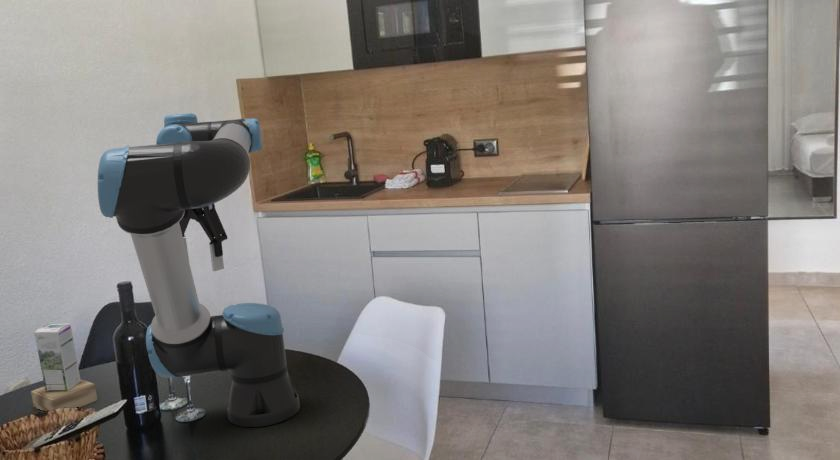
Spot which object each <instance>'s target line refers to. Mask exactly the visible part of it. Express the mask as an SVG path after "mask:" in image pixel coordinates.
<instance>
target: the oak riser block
mask: <svg viewBox="0 0 840 460" xmlns="http://www.w3.org/2000/svg"><path fill="white" fill-rule="evenodd" d="M80 379H81V378H80ZM30 393H31V394H30V395H31V399H32V405H33V408H34V407H36V408H38V409H40V410H44V411H47V410H54V409H58V408H64V407H79V408H82V407H84V406H88V405H89V404H91V403H94V402H97V401H98V396H97V389H96V383H93V382H90V381H87V380H84V379H81V382H80V383H78V384H77V385H76V386H74V387H73V388H72V389H70V390H68V391H45V386H44V385H43V386H40V387H39V388H36V389H34V390H31V391H30ZM36 408H35V409H36ZM38 409H37V410H38ZM40 410H39V411H40Z"/></svg>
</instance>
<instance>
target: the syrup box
mask: <svg viewBox="0 0 840 460" xmlns="http://www.w3.org/2000/svg"><path fill="white" fill-rule="evenodd" d="M34 338H35V343H36V348H37V354H38V358H39V359H38V360H39V365H40V370H41V375H42V380H43V384H44V385H43V387H44V386H45V391H68V390H70V389H72V388H73V387H74V386H76V385H77V384H78V383H80V382H81V375H80V370H79V366H78V359H77V355H76V347H75V341H74V336H73V330H72V325H71V323H52V324H48V323H47V324H45V325H43V326H42V327H39V328H38V329H37V330H34Z"/></svg>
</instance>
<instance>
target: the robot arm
mask: <svg viewBox="0 0 840 460" xmlns="http://www.w3.org/2000/svg"><path fill="white" fill-rule="evenodd" d="M163 123H164V124H163V125H164V127H163V128H162V129H161V130H160V131H159V133H158V134H157V137H156V139H155V141H156V144H149V145H137V146H130V145H126V146H123V147H118V148H111V149H107V150H105V152H103V153H102V155H101V157H100V159H99V163H98V170H97V196H98V205H99V210H100V213H101V214H102V215H103V217H105V218H112V219H113V218H114V217H116V218H115V219H116V222H117V224H118V227H119V228H120V229H121V230H122V231H123V232H125V233H126V234H130V236H131V239H132V242H133V246H134V249H135V253H136V257H137V259H138V263H139V266H140V269H141V272H142V276H143V279H144V282H145V286H146V288H147V293H148V296H149V299H150V302H151V306H152V308H153V313H154V317H153V318H152V321H151V324H149V325H148V327H147V329H146V334H145V344H146V346H145V347H146V351H147V353H148V354H147V355H148V359H149V363H150V364H151V368H152V370H153V371H154V372H155V373H156V374H157V375H158V376H159V377H161V378H166V379H167V378H168V379H169V378H170V379H171V378H177V379H180V378H184V377H189V376H198V375H204V374H213V373H220V372H227V371H228V372H229V371H230V376H231V386H230V387H231V388H230V392H229V398H228V403H227V406H226V407H227V408H226V412H227V419H228V421H229V422H230V423H231V424H233V425H235V426H239V427H242V428H258V427H267V426H271V425H275V424H279V423H281V422H284V421H286V420H289V419H291V418H292V417H294V416H295V415H296V414H297V413H298V412H299V410H300V409H301V404H300V403H301V402H300V398H299V394H298V392H297V390H296V387H295V386H294V384H293V381H292V379H291V377H290V375H289V372H288V365H287V358H286V357H287V355H286V348H285V342H284V332H285V331H284V327H283V322H282V318H281V313H280V312H279V310H278V309H276V307H273V306H272V305H268V304H264V303H256V302H245V303H242V302H241V303H237V304H230V305H228V306H226V307H224V309H223V311H222V313H221V314H219V315H211V313H210V311H209V309H208V308H207V307H206V306H205V305H204V304H203V303H200V301H199V297H198V293H197V289H196V285H195V280H194V277H193V273H192V269H191V265H190V259H189V249H188V245H187V238H186V234H185V233H186V231H187V228H188V226H189V224H190V220H194V221H195V222H196V223H198V224H199V226H201V228H202V230H203V231H204V233H205V234H206V236H207V238H208V239H209V241H210V242H209V243H208V244H209V253H210V259H211V261H210V262H211V267H212V272H217V271H219V270H220V271H221V270H223V269H225V266H224V265H225V264H224V258H223V257H224V256H223V255H224V252H223V244H222V243H223V242H224V241H227V240H228V235H227V232H226V230H225V228H224V226H223V222H221V219H220V216H219V214H218V212H217V210H216V205H215V204H217V203H218V202H220V201H222V200H224V199H226V198H228V197H229V196H230V195H232V194H233V193H235V192H236V191H237V190H238V189H239V188H241V186H242V185H243V184H244V183H245V182H246V180H247V178H248V176H249V173H250V168H251V161H250V157H249V154H252V153H254V152H260V151H261V150H262V148H263V139H262V132H261V131H262V130H261V124H260V121H259V120H258V119H257V118H245V117H242V118H237V119H228V120H215V121H204V122H203V121H202V122H199V121H198V117H197V115H196V114H195V113H190V112H189V113H175V114H168V115H165V116H164V118H163Z"/></svg>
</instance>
